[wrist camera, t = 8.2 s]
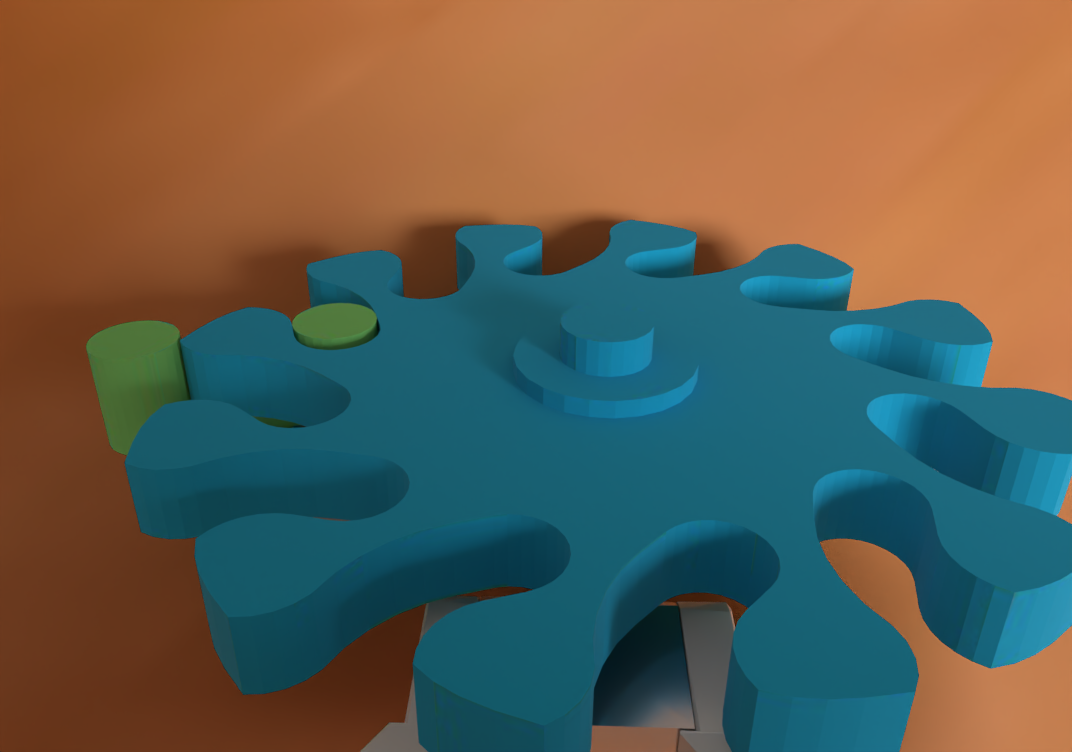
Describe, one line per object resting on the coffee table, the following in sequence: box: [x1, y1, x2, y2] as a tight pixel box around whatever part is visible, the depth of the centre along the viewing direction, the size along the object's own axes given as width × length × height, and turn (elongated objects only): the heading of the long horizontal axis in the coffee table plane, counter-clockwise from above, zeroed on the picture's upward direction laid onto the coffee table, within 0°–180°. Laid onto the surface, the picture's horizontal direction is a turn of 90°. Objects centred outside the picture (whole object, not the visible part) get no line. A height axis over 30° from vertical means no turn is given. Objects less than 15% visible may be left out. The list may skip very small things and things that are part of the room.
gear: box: [86, 220, 1072, 752], centre depth 12 cm, size 11×6×10 cm
